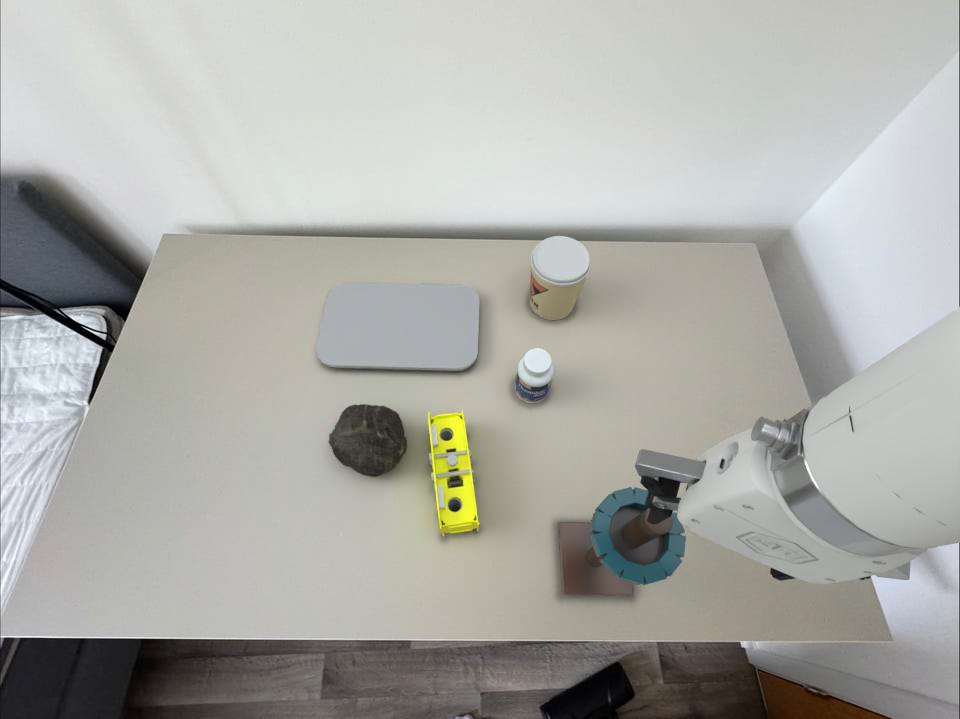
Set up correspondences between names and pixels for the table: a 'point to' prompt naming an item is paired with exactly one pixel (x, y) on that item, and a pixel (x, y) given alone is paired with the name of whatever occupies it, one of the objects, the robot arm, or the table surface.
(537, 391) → the pill bottle
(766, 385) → the table surface
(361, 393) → the table surface
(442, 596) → the table surface
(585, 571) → the stand
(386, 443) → the rock
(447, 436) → the yellow toy chassis
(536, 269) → the beige lidded canister
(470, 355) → the tablet
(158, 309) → the table surface
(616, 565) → the ring
